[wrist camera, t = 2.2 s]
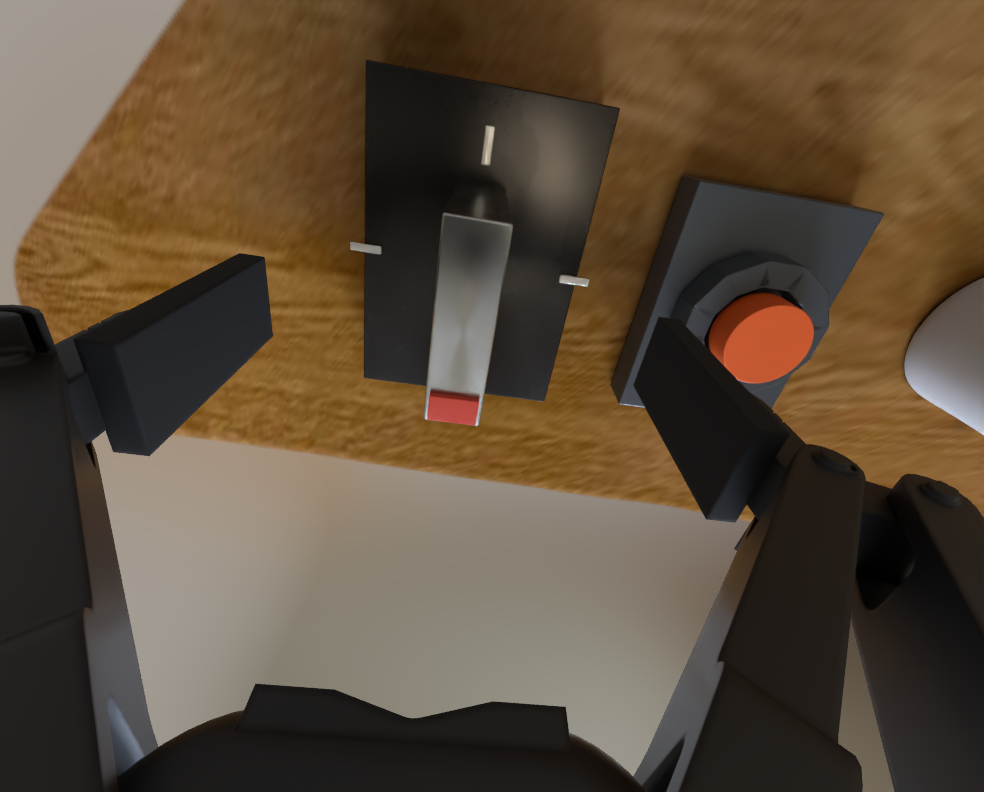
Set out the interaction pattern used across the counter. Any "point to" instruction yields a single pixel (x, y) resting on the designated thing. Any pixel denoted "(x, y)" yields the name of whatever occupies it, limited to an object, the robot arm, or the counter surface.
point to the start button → (761, 337)
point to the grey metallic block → (467, 300)
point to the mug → (952, 356)
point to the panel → (427, 190)
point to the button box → (743, 265)
